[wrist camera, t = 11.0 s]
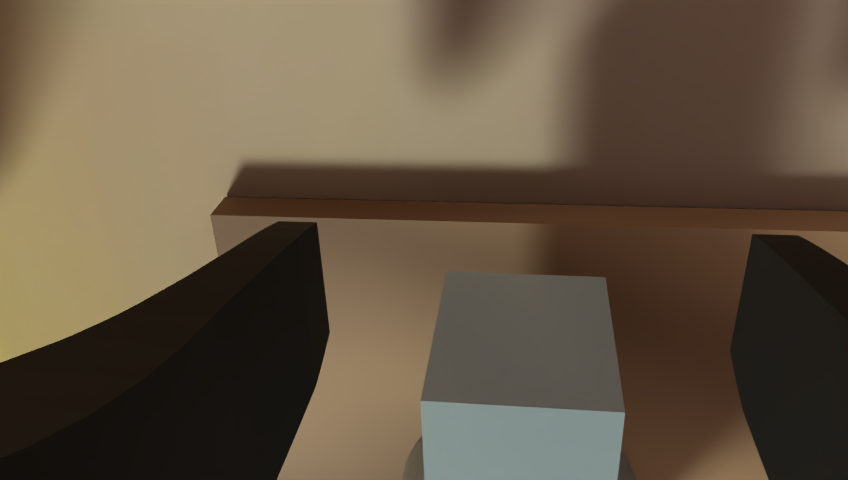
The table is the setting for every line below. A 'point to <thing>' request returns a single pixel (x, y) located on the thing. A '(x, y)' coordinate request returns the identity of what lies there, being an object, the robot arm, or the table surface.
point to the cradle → (538, 255)
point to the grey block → (521, 382)
